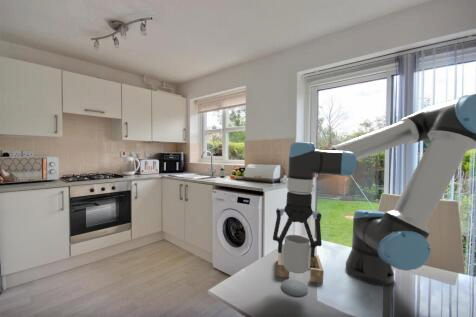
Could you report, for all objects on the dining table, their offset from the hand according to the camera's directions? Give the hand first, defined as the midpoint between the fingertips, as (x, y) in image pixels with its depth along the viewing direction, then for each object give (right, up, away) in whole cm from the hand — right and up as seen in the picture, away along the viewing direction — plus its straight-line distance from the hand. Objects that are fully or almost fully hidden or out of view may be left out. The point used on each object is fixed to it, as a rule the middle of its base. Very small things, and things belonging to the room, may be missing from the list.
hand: (295, 264), depth 71 cm
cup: (0, 0, 0) cm, 1 cm away
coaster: (0, -8, 0) cm, 7 cm away
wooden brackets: (+4, -8, +11) cm, 14 cm away
